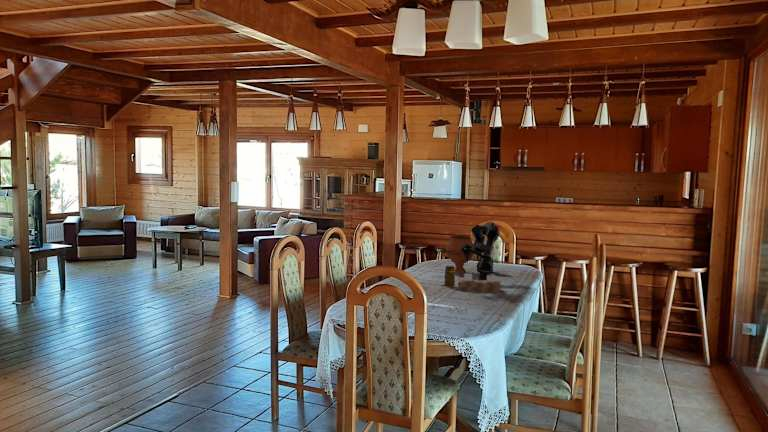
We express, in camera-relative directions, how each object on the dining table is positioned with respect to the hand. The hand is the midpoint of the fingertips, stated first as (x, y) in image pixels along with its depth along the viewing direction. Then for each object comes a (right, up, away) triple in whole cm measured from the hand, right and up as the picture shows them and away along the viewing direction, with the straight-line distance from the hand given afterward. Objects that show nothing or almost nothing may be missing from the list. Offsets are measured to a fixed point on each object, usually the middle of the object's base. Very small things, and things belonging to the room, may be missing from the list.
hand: (473, 265), depth 338 cm
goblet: (0, -10, +58) cm, 59 cm away
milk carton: (+19, -10, +62) cm, 66 cm away
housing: (+4, -14, +1) cm, 15 cm away
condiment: (-13, -14, +11) cm, 22 cm away
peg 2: (+10, -11, -1) cm, 15 cm away
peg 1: (-3, -10, +2) cm, 11 cm away
